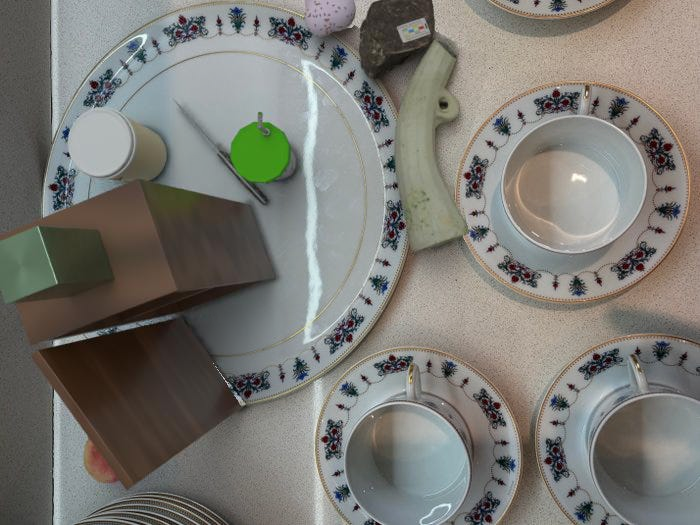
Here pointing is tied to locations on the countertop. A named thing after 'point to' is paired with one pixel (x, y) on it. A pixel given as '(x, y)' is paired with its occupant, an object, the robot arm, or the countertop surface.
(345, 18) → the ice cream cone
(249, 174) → the cup
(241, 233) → the cupboard
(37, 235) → the green rectangular block
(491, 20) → the countertop surface
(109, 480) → the fruit
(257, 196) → the knife
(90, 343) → the cupboard door
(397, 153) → the pale green curved piece
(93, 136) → the coffee cup
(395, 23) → the rock
